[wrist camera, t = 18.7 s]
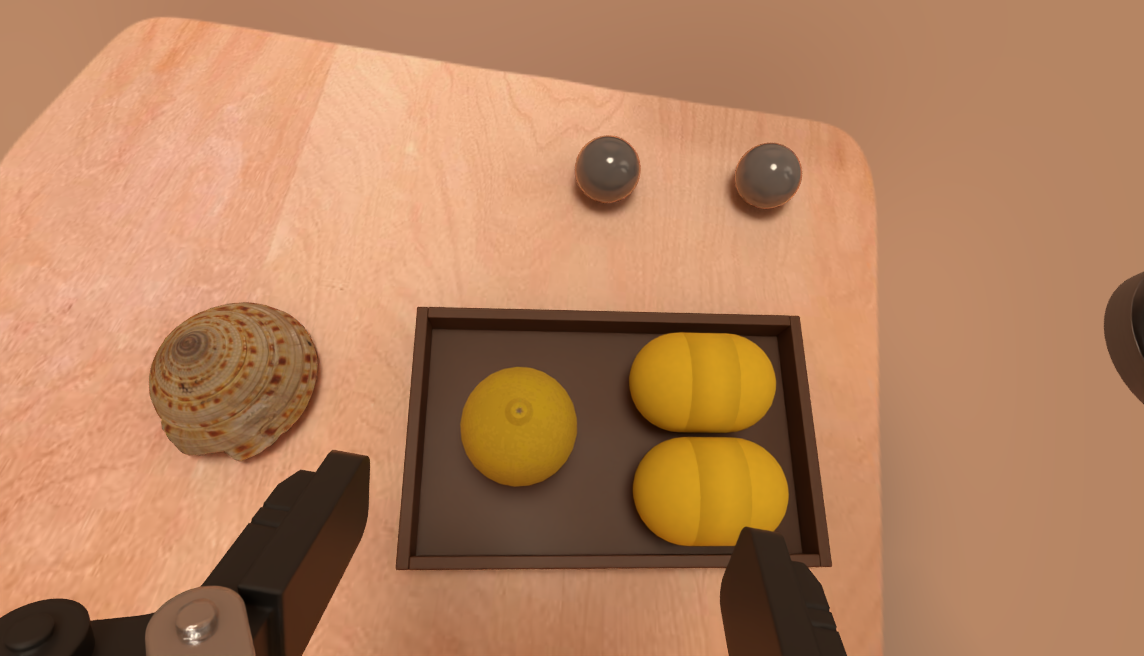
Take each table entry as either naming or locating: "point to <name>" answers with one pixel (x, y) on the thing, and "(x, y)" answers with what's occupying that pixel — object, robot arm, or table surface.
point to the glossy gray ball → (768, 175)
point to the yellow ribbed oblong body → (702, 382)
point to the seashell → (232, 379)
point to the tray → (581, 443)
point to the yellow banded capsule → (709, 490)
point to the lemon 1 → (518, 426)
